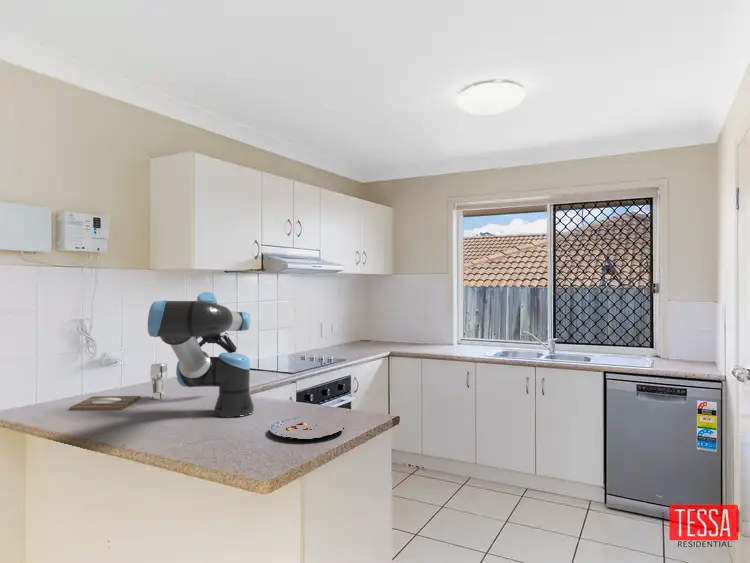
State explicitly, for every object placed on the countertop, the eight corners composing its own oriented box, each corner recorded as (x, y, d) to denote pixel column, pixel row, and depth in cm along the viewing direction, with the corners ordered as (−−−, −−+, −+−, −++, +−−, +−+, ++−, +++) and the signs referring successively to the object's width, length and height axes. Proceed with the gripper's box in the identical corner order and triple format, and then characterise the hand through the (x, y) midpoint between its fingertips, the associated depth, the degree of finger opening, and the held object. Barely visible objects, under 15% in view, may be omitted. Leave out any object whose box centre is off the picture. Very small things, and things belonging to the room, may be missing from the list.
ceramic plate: (315, 449, 157) (316, 439, 157) (253, 436, 169) (253, 427, 170) (358, 429, 179) (358, 420, 180) (300, 419, 192) (300, 411, 192)
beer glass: (170, 397, 226) (170, 363, 227) (159, 400, 220) (160, 366, 220) (157, 396, 228) (157, 363, 228) (146, 399, 222) (146, 365, 222)
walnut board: (121, 409, 203) (121, 405, 203) (69, 410, 202) (69, 406, 202) (139, 398, 223) (140, 395, 223) (92, 399, 221) (92, 395, 221)
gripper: (241, 320, 220) (243, 357, 231) (182, 318, 218) (188, 356, 229) (238, 331, 214) (241, 368, 225) (177, 329, 211) (183, 367, 223)
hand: (214, 362), depth 227 cm, fingers open, 13 cm apart
